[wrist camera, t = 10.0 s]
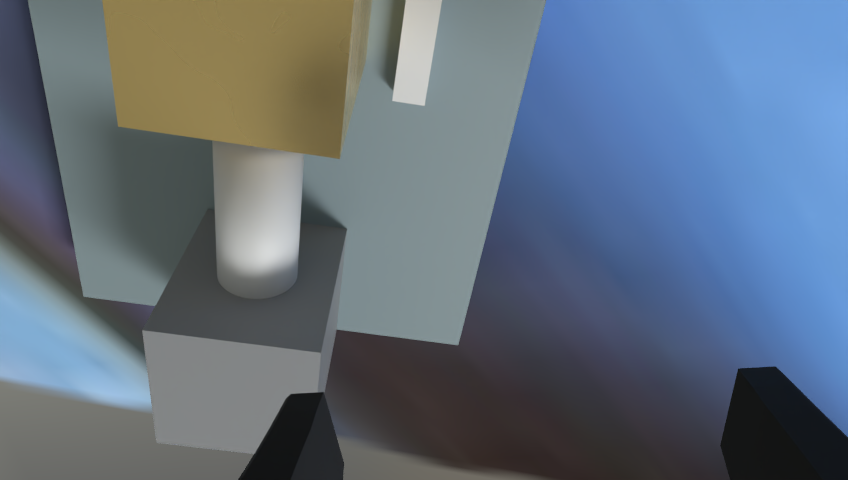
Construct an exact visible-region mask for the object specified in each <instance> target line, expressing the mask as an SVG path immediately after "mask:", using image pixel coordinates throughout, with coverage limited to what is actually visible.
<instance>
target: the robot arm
mask: <svg viewBox="0 0 848 480" xmlns="http://www.w3.org/2000/svg"><path fill="white" fill-rule="evenodd" d="M720 446H721V449H722V453H723V456H724V460H725V463H726V467H727V470H728V474H729V477H730V480H848V437H847V436H846V435H845V434H844V433H843V432H842V431H841V430H840V429H839V428H838V427H837V426H836V425H835V424H834V423H833V422H832V421H831V420H829V419H828V418H827V417H826V416H825V415H824V414H823V413H822V412H821V411H820V410H819V409H818V408H817V407H816V406H815V405H814V404H813V403H812V402H811V401H810V400H809V399H808V398H807V397H806V396H805V395H804V394H803V393H802V392H801V391H800V390H799V389H798V388H797V387H796V386H795V385H794V384H793V383H792V382H791V381H790V380H789V379H788V378H787V377H786V376H785V375H784V374H783V373H782V372H781V371H780V370H779V369H778V368H776V367H759V368H741V369H738V372H737V376H736V380H735V385H734V389H733V393H732V398H731V402H730V406H729V411H728V415H727V419H726V423H725V428H724V432H723V436H722V441H721V445H720ZM343 469H344V462H343V458H342V455H341V451H340V448H339V444H338V441H337V437H336V434H335V430H334V427H333V423H332V420H331V416H330V413H329V409H328V406H327V402H326V399H325V395H324V392H315V393H297V394H290V395H289V396H288V397H287V398H286V399H285V401H284V403H283V405H282V407H281V408H280V410H279V412H278V414H277V416H276V417H275V419H274V421H273V423H272V425H271V426H270V428H269V430H268V432H267V433H266V435H265V437H264V438H263V440H262V442H261V444H260V445H259V447H258V449H257V450H256V452H255V454H254V455H253V457H252V459H251V460H250V462H249V464H248V465H247V467H246V468H245V470H244V472H243V473H242V475H241V476H240V478H239V479H238V480H343Z"/></svg>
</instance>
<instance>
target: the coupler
mask: <svg viewBox="0 0 848 480" xmlns="http://www.w3.org/2000/svg"><path fill="white" fill-rule="evenodd" d="M102 3H103V11H104V19H105V27H106V35H107V43H108V51H109V59H110V67H111V75H112V83H113V90H114V98H115V106H116V114H117V122H118V127H124V128H131V129H138V130H145V131H152V132H159V133H165V134H172V135H179V136H186V137H193V138H200V139H206V140H213V141H220V142H227V143H234V144H241V145H247V146H254V147H261V148H268V149H275V150H281V151H288V152H295V153H302V154H309V155H316V156H322V157H329V158H336V159H340V156H341V152H342V149H343V145H344V141H345V137H346V134H347V130H348V126H349V122H350V119H351V115H352V111H353V107H354V104H355V100H356V96H357V92H358V89H359V85H360V81H361V77H362V74H363V70H364V66H365V62H366V55H367V45H368V36H369V26H370V17H371V7H372V0H102Z"/></svg>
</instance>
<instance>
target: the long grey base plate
mask: <svg viewBox="0 0 848 480" xmlns="http://www.w3.org/2000/svg"><path fill="white" fill-rule="evenodd" d="M545 3H546V0H372V7H371V17H370V26H369V36H368V45H367V55H366V62H365V66H364V70H363V74H362V77H361V81H360V85H359V89H358V92H357V96H356V100H355V104H354V107H353V111H352V115H351V119H350V122H349V126H348V130H347V134H346V137H345V141H344V145H343V149H342V152H341V156H340V159H336V158H329V157H322V156H316V155H309V154H302V153H295V152H288V151H281V150H275V149H268V148H261V147H254V146H247V145H241V144H234V143H227V142H220V141H213V140H206V139H200V138H193V137H186V136H179V135H172V134H165V133H159V132H152V131H145V130H138V129H131V128H124V127H118V122H117V114H116V106H115V98H114V90H113V83H112V75H111V67H110V59H109V51H108V43H107V35H106V27H105V19H104V11H103V3H102V0H28V4H29V9H30V15H31V20H32V25H33V31H34V36H35V41H36V46H37V52H38V57H39V62H40V68H41V73H42V78H43V84H44V89H45V94H46V99H47V105H48V110H49V115H50V121H51V126H52V131H53V137H54V142H55V147H56V152H57V158H58V163H59V168H60V174H61V179H62V184H63V190H64V195H65V200H66V205H67V211H68V216H69V221H70V227H71V232H72V237H73V243H74V248H75V253H76V258H77V264H78V269H79V274H80V280H81V285H82V290H83V296H84V297H90V298H98V299H106V300H114V301H121V302H129V303H137V304H144V305H152V306H155V308H154V310H153V311H152V313H151V315H150V317H149V319H148V321H147V323H146V324H145V326H144V328H143V330H142V331H143V339H144V347H145V355H146V363H147V371H148V379H149V387H150V395H151V403H152V411H153V418H154V426H155V433H156V441H157V443H164V444H173V445H181V446H190V447H199V448H208V449H216V450H225V451H233V452H242V453H251V454H255V452H256V450H257V449H258V447H259V445H260V444H261V442H262V440H263V438H264V437H265V435H266V433H267V432H268V430H269V428H270V426H271V425H272V423H273V421H274V419H275V417H276V416H277V414H278V412H279V410H280V408H281V407H282V405H283V403H284V401H285V399H286V398H287V397H288V396H289V395H290V394H297V393H315V392H325V387H326V382H327V376H328V371H329V366H330V361H331V355H332V350H333V345H334V340H335V335H336V329H338V330H345V331H353V332H361V333H369V334H376V335H384V336H392V337H399V338H407V339H415V340H423V341H430V342H438V343H446V344H454V345H458V344H459V340H460V336H461V332H462V328H463V324H464V320H465V316H466V312H467V308H468V304H469V301H470V297H471V293H472V289H473V285H474V281H475V277H476V273H477V269H478V265H479V261H480V257H481V254H482V250H483V246H484V242H485V238H486V234H487V230H488V226H489V222H490V218H491V214H492V210H493V207H494V203H495V199H496V195H497V191H498V187H499V183H500V179H501V175H502V171H503V167H504V163H505V160H506V156H507V152H508V148H509V144H510V140H511V136H512V132H513V128H514V124H515V120H516V116H517V113H518V109H519V105H520V101H521V97H522V93H523V89H524V85H525V81H526V77H527V73H528V69H529V66H530V62H531V58H532V54H533V50H534V46H535V42H536V38H537V34H538V30H539V26H540V22H541V19H542V15H543V11H544V7H545Z"/></svg>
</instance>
